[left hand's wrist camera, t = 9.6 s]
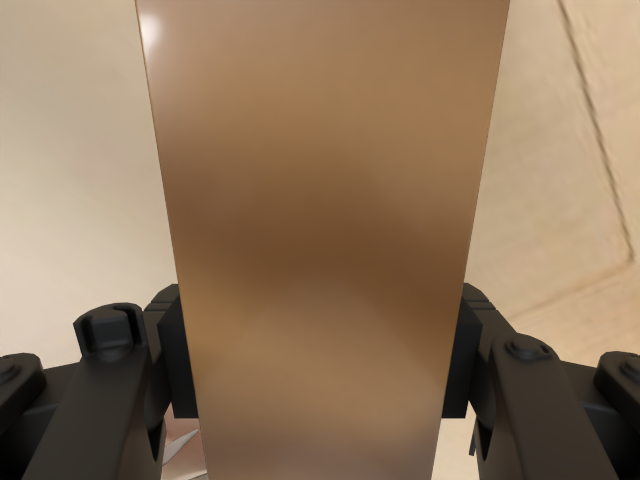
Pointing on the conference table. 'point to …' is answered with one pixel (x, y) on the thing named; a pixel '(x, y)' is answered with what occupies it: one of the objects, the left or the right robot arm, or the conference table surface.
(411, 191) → the beam
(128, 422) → the left robot arm
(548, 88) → the conference table surface
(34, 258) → the conference table surface
